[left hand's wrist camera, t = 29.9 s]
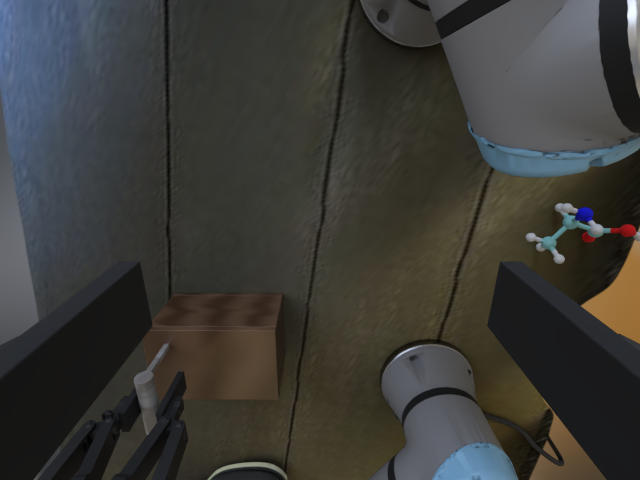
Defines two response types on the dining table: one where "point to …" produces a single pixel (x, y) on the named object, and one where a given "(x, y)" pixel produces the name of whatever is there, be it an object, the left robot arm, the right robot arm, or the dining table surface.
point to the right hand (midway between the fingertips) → (166, 380)
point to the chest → (227, 313)
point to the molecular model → (573, 222)
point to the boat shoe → (249, 472)
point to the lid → (208, 365)
